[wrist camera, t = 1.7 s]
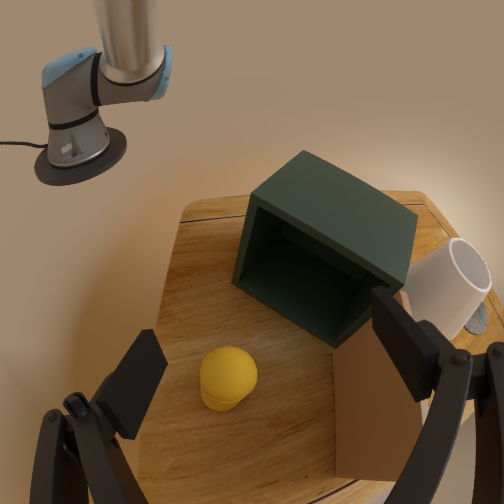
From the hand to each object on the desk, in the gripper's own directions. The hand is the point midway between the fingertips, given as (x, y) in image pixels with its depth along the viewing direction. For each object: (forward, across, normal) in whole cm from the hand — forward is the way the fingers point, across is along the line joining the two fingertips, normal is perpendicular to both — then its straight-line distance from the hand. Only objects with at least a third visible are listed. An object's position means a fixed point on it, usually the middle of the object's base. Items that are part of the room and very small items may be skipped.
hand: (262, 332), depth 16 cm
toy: (+8, -7, -12) cm, 16 cm away
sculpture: (+25, +37, -22) cm, 49 cm away
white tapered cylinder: (+21, +21, -17) cm, 34 cm away
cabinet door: (+8, +7, -19) cm, 22 cm away
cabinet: (+22, +4, -8) cm, 24 cm away
